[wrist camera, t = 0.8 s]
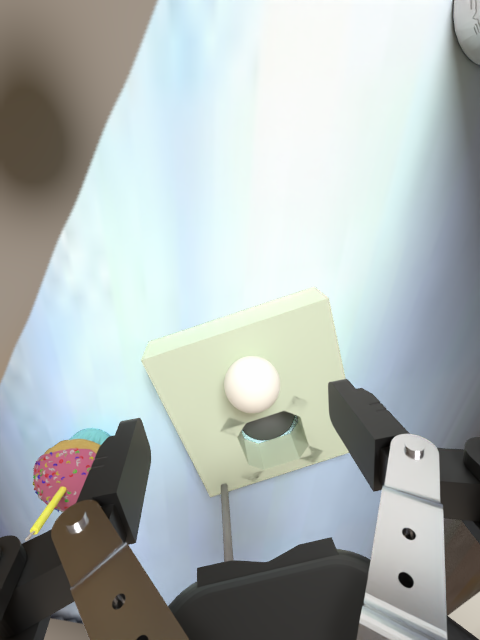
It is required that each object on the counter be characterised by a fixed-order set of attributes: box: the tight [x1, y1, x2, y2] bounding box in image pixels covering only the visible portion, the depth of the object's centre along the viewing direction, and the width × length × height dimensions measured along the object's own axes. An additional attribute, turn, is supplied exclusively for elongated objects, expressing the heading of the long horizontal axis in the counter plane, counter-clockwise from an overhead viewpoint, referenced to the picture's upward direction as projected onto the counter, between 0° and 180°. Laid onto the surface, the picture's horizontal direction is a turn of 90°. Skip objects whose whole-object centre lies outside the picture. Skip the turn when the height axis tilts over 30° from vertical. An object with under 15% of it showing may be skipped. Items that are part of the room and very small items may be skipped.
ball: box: [224, 356, 280, 413], centre depth 27 cm, size 5×5×5 cm
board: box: [141, 287, 349, 562], centre depth 28 cm, size 20×19×16 cm
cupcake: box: [25, 428, 110, 541], centre depth 30 cm, size 9×8×12 cm
